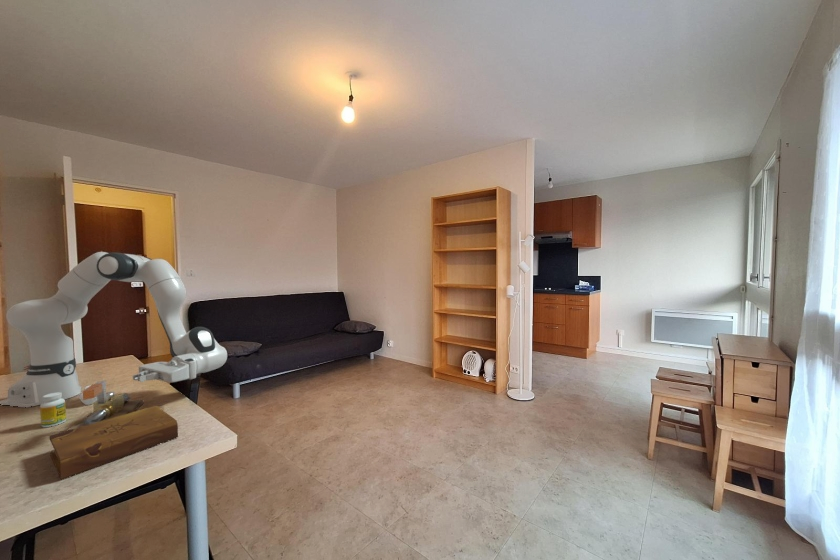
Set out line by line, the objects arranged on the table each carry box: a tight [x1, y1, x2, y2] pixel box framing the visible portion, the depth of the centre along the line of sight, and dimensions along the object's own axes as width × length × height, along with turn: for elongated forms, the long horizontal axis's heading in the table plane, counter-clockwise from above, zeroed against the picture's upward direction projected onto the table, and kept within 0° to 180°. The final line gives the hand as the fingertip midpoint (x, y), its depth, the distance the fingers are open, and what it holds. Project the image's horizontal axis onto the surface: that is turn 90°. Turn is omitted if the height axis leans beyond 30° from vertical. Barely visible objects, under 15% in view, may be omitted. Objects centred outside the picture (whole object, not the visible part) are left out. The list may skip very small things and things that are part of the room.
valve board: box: [66, 398, 145, 431], centre depth 108 cm, size 20×11×2 cm, turn 20°
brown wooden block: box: [48, 405, 179, 480], centre depth 90 cm, size 23×19×6 cm
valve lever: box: [82, 379, 115, 405], centre depth 101 cm, size 17×3×7 cm, turn 29°
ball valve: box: [84, 392, 131, 425], centre depth 108 cm, size 20×5×6 cm, turn 20°
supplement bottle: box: [39, 392, 67, 428], centre depth 103 cm, size 5×5×10 cm
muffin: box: [78, 384, 97, 406], centre depth 119 cm, size 6×6×7 cm
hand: (136, 378), depth 107 cm, fingers closed
